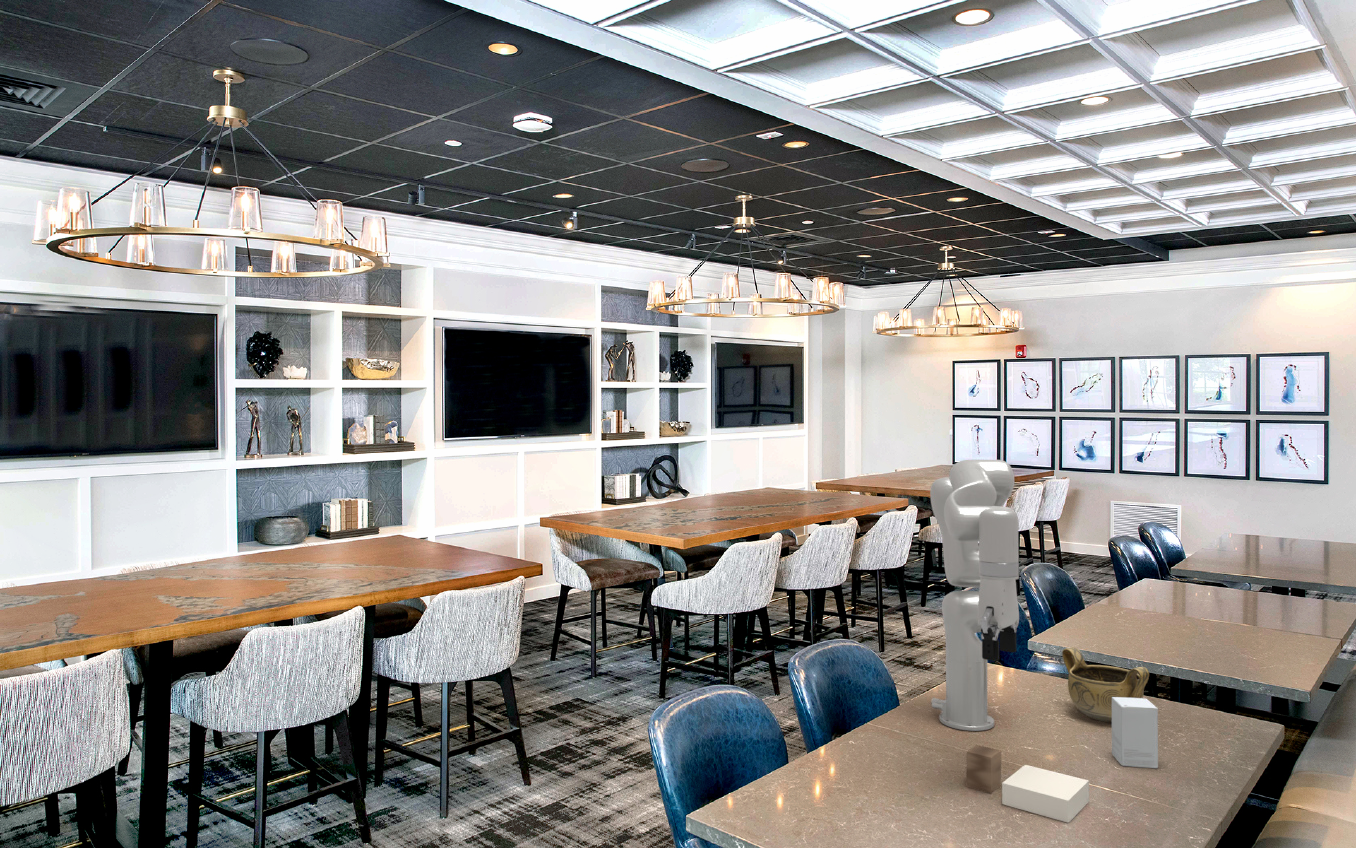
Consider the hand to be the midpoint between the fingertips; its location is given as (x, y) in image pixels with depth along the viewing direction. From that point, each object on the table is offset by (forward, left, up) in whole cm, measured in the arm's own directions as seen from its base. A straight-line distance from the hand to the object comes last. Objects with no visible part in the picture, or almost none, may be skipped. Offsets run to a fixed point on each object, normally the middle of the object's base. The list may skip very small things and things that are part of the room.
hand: (999, 655), depth 178 cm
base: (+11, -5, -25) cm, 28 cm away
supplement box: (+18, +29, -25) cm, 43 cm away
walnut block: (-1, -5, -25) cm, 26 cm away
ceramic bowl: (+5, +55, -25) cm, 61 cm away
